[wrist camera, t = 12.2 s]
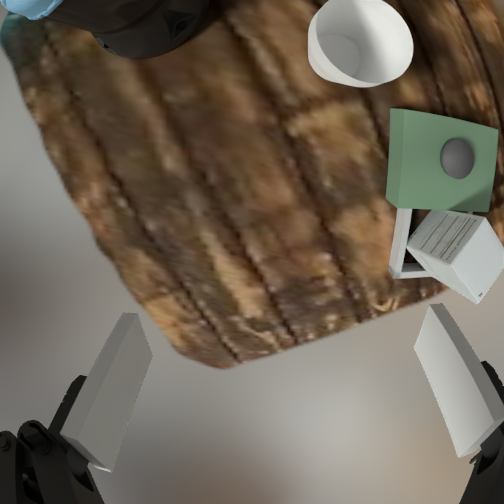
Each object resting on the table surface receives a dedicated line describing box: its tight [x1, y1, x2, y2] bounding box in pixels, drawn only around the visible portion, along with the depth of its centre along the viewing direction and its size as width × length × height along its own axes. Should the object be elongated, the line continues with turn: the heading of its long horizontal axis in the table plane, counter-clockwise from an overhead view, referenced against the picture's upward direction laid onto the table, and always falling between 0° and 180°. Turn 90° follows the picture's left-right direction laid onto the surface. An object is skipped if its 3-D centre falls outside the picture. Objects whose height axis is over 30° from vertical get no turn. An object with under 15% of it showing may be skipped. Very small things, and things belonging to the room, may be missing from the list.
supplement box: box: [406, 209, 504, 304], centre depth 31 cm, size 7×7×13 cm
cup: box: [308, 0, 413, 87], centre depth 23 cm, size 9×9×12 cm
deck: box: [386, 108, 498, 279], centre depth 33 cm, size 23×16×5 cm
